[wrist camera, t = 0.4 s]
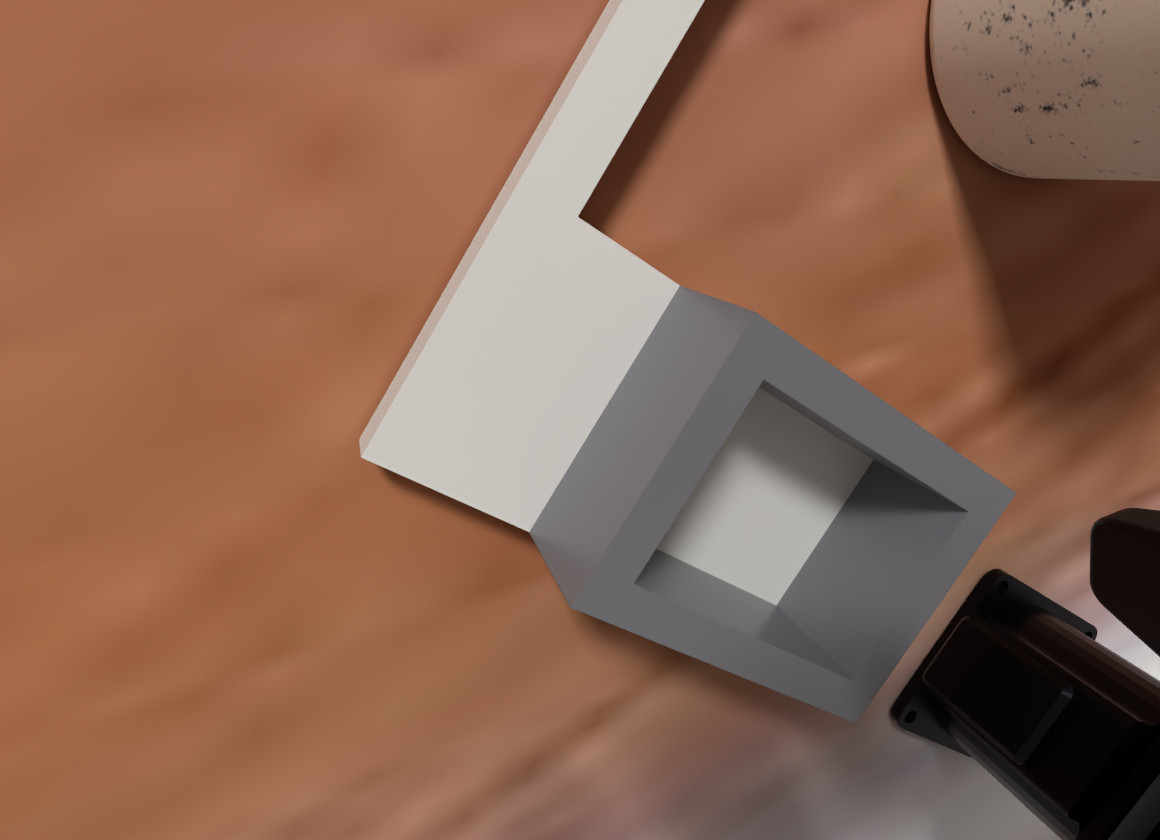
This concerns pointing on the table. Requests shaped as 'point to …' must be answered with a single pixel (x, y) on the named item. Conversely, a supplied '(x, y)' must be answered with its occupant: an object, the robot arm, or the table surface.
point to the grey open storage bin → (674, 427)
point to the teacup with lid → (1052, 84)
